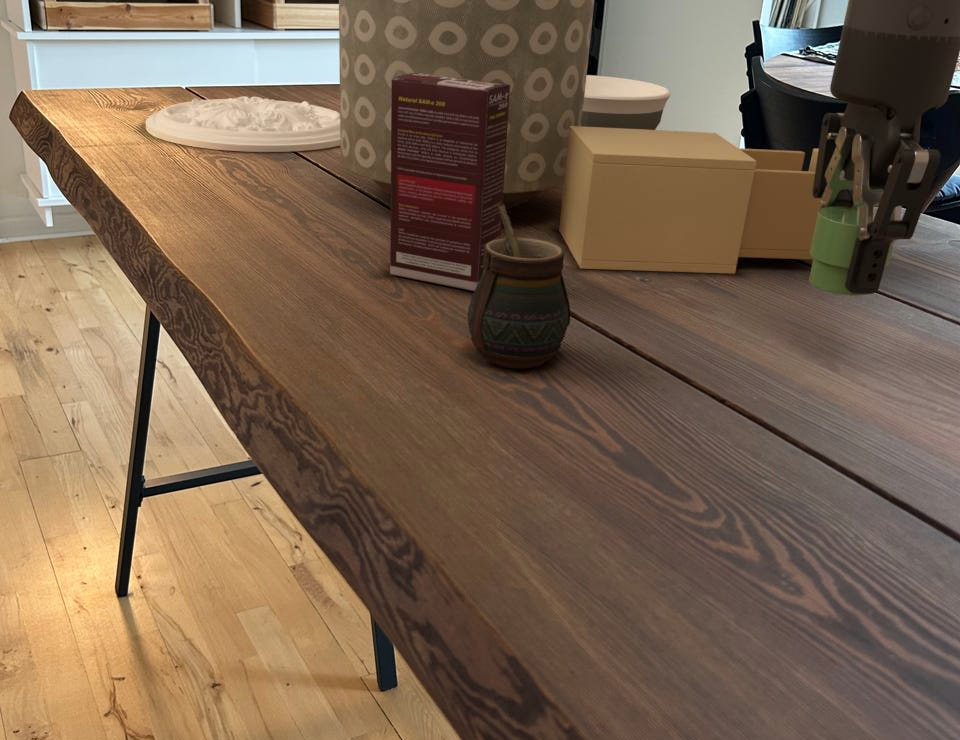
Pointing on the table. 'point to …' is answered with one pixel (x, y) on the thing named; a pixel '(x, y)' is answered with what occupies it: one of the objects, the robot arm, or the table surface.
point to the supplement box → (446, 176)
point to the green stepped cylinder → (835, 248)
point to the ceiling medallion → (247, 125)
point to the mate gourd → (519, 301)
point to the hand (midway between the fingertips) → (843, 277)
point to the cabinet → (654, 200)
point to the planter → (467, 76)
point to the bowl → (622, 103)
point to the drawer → (780, 206)
